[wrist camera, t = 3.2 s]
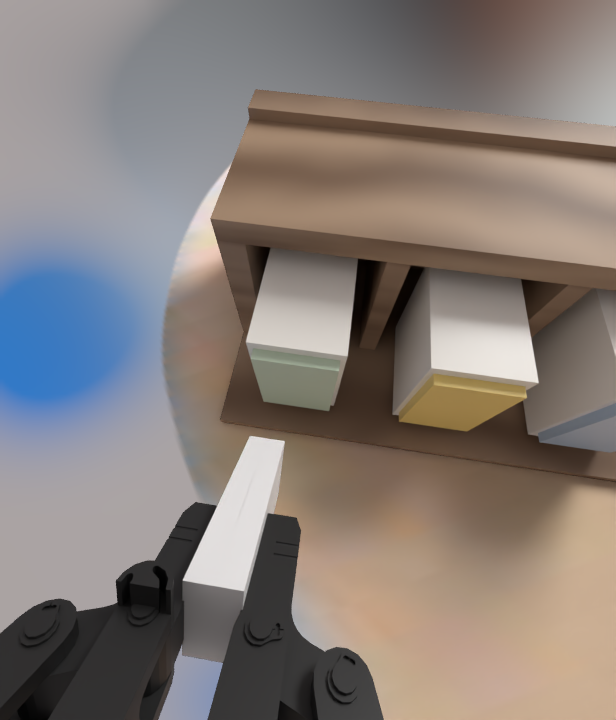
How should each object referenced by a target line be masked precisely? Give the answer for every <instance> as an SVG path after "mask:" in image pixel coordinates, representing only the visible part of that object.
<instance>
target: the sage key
mask: <svg viewBox="0 0 616 720" xmlns="http://www.w3.org/2000/svg"><path fill="white" fill-rule="evenodd" d="M357 264H358V258H351V257H343V256H335V255H327V254H319V253H311V252H303V251H295V250H287V249H279V248H270V252H269V256H268V260H267V263H266V267H265V271H264V275H263V279H262V282H261V286H260V290H259V294H258V297H257V301H256V305H255V309H254V313H253V316H252V320H251V324H250V328H249V332H248V335H247V339H246V345H247V348H248V351H249V355H250V358H251V362H252V365H253V369H254V372H255V375H256V378H257V382H258V385H259V388H260V392H261V395H262V398H263V401H264V402H270V403H277V404H284V405H290V406H297V407H304V408H311V409H318V410H324V411H329V409H330V405H331V406H334V403H335V400H336V396H337V393H338V389H339V386H340V382H341V378H342V375H343V371H344V368H345V364H346V360H347V357H348V348H349V339H350V330H351V320H352V311H353V301H354V292H355V282H356V273H357Z"/></svg>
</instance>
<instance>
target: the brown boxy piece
mask: <svg viewBox="0 0 616 720" xmlns="http://www.w3.org/2000/svg"><path fill="white" fill-rule="evenodd" d="M248 111H249V121H248V124H247V127H246V129H245V132H244V134H243V137H242V140H241V142H240V144H239V147H238V150H237V152H236V155H235V158H234V160H233V162H232V165H231V167H230V170H229V172H228V175H227V178H226V180H225V183H224V185H223V188H222V190H221V193H220V195H219V198H218V201H217V203H216V206H215V208H214V211H213V213H212V216H211V218H210V219H211V222H212V226H213V229H214V232H215V236H216V239H217V243H218V246H219V249H220V253H221V256H222V259H223V263H224V266H225V270H226V273H227V276H228V280H229V283H230V287H231V290H232V293H233V297H234V300H235V303H236V307H237V310H238V314H239V317H240V320H241V324H242V327H243V330H244V333H243V337H242V341H241V344H240V348H239V352H238V355H237V359H236V363H235V366H234V370H233V374H232V378H231V381H230V385H229V389H228V392H227V396H226V400H225V403H224V407H223V411H222V414H221V418H220V420H221V421H222V422H226V423H232V424H239V425H246V426H252V427H259V428H265V429H272V430H279V431H285V432H292V433H298V434H305V435H312V436H318V437H325V438H331V439H338V440H344V441H351V442H358V443H364V444H371V445H377V446H384V447H391V448H397V449H404V450H410V451H417V452H424V453H430V454H437V455H443V456H450V457H457V458H463V459H470V460H476V461H483V462H490V463H496V464H503V465H509V466H516V467H522V468H529V469H536V470H542V471H549V472H555V473H562V474H569V475H575V476H582V477H588V478H595V479H602V480H608V481H615V482H616V451H615V452H611V453H609V452H602V451H595V450H588V449H582V448H575V447H568V446H561V445H555V444H548V443H541V442H539V437H538V436H536V435H529V434H528V431H527V424H526V417H525V411H524V404H523V401H521V402H519V403H517V404H515V405H514V406H512V407H510V408H508V409H506V410H505V411H503V412H501V413H499V414H497V415H496V416H494V417H492V418H490V419H488V420H487V421H485V422H483V423H481V424H479V425H478V426H476V427H474V428H472V429H471V430H469V431H460V430H453V429H446V428H439V427H433V426H426V425H419V424H412V423H406V422H399V415H392V412H393V384H394V357H395V329H396V325H397V323H398V321H399V319H400V317H401V315H402V313H403V311H404V309H405V307H406V305H407V303H408V300H409V298H410V296H411V294H412V292H413V290H414V288H415V286H416V284H417V282H418V280H419V278H420V276H421V273H422V271H423V269H424V267H431V268H439V269H447V270H455V271H463V272H471V273H479V274H486V275H494V276H502V277H510V278H518V279H521V282H522V288H523V294H524V300H525V306H526V311H527V317H528V323H529V329H530V335H531V338H532V337H533V336H534V335H536V334H537V333H538V332H539V331H541V330H542V329H543V328H544V327H546V326H547V325H548V324H549V323H551V322H552V321H553V320H554V319H555V318H557V317H558V316H559V315H560V314H562V313H563V312H564V311H565V310H567V309H568V308H569V307H570V306H572V305H573V304H574V303H575V302H577V301H578V300H579V299H580V298H582V297H583V296H584V295H585V294H586V293H588V292H589V291H590V290H591V289H593V288H598V289H606V290H614V291H616V126H606V125H597V124H587V123H577V122H568V121H558V120H548V119H538V118H529V117H518V116H509V115H499V114H490V113H480V112H470V111H461V110H451V109H441V108H432V107H422V106H411V105H402V104H393V103H383V102H373V101H364V100H354V99H344V98H334V97H325V96H315V95H314V96H313V95H305V94H296V93H286V92H276V91H266V90H257V89H256V90H255V92H254V94H253V97H252V99H251V102H250V104H249V107H248ZM270 248H279V249H287V250H295V251H303V252H311V253H319V254H327V255H335V256H343V257H351V258H358V264H357V273H356V282H355V292H354V301H353V311H352V320H351V330H350V339H349V348H348V357H347V360H346V364H345V368H344V371H343V375H342V378H341V382H340V386H339V389H338V393H337V396H336V400H335V403H334V406H331V405H330V409H329V411H324V410H318V409H311V408H304V407H297V406H290V405H284V404H277V403H270V402H264V401H263V398H262V395H261V392H260V388H259V385H258V382H257V378H256V375H255V372H254V369H253V365H252V362H251V358H250V355H249V351H248V348H247V345H246V339H247V335H248V332H249V328H250V324H251V320H252V316H253V313H254V309H255V305H256V301H257V297H258V294H259V290H260V286H261V282H262V279H263V275H264V271H265V267H266V263H267V260H268V256H269V252H270Z"/></svg>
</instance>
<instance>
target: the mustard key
mask: <svg viewBox="0 0 616 720" xmlns="http://www.w3.org/2000/svg"><path fill="white" fill-rule="evenodd" d="M538 383H539V381H538V375H537V369H536V364H535V358H534V352H533V346H532V340H531V335H530V329H529V323H528V317H527V311H526V306H525V300H524V294H523V288H522V282H521V279H518V278H510V277H502V276H494V275H486V274H479V273H471V272H463V271H455V270H447V269H439V268H431V267H424V269H423V271H422V273H421V276H420V278H419V280H418V282H417V284H416V286H415V288H414V290H413V292H412V294H411V296H410V298H409V300H408V303H407V305H406V307H405V309H404V311H403V313H402V315H401V317H400V319H399V321H398V323H397V325H396V329H395V357H394V384H393V412H392V415H399V422H406V423H412V424H419V425H426V426H433V427H439V428H446V429H453V430H460V431H469V430H471V429H472V428H474V427H476V426H478V425H479V424H481V423H483V422H485V421H487V420H488V419H490V418H492V417H494V416H496V415H497V414H499V413H501V412H503V411H505V410H506V409H508V408H510V407H512V406H514V405H515V404H517V403H519V402H521V401H523V400H524V399H526V398H527V395H526V390H528V389H530V388H531V387H533V386H535V385H536V384H538Z"/></svg>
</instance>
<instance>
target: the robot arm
mask: <svg viewBox="0 0 616 720" xmlns="http://www.w3.org/2000/svg"><path fill="white" fill-rule="evenodd" d="M284 444H285V441H281V440H274V439H268V438H261V437H255V436H250V437H249V439H248V441H247V443H246V446H245V448H244V450H243V452H242V454H241V456H240V458H239V461H238V463H237V465H236V467H235V469H234V471H233V473H232V476H231V478H230V480H229V482H228V484H227V486H226V488H225V491H224V493H223V495H222V497H221V499H220V501H219V503H218V506H216V505H210V504H203V503H197V502H195V503H194V504H193V505H192V506H190V507H189V508H188V509H187V510H185V512H183V514H182V515H181V517H180V519H179V520H178V522H177V524H176V526H175V528H174V529H173V531H172V532H171V534H170V536H169V539H167V541H166V543H165V545H164V546H163V548H162V549H161V551H160V553H159V555H158V556H157V558H156V560H155V561H144V562H141V563H138V564H135V565H134V566H132V567H130V568H129V569H127V570H126V571H125V572H123V573H122V575H121V576H120V577H119V578H118V579H117V580H116V588H117V601H118V603H116V604H114V605H110V606H107V607H102V608H96V609H90V610H84V611H78V612H76V607H75V606H74V605H73V604H72V603H71V602H70V601H67V600H64V599H54V600H48V601H45V602H43V603H41V604H38V605H36V606H34V607H32V608H31V609H29V610H28V611H27V612H25V613H24V614H22V615H21V616H20V617H19V618H17V619H16V620H15V621H14V622H13V623H12V624H11V625H9V626H8V627H7V628H6V629H5V630H4V631H3V632H2V633H0V720H158V719H159V716H160V713H161V711H162V708H163V705H164V702H165V700H166V697H167V695H168V692H169V689H170V687H171V684H172V679H173V675H174V663H175V661H176V658H177V656H178V653H179V651H180V648H181V645H182V655H183V656H188V657H194V658H199V659H205V660H210V661H216V662H221V663H223V666H222V669H221V673H220V677H219V680H218V684H217V688H216V691H215V695H214V698H213V702H212V705H211V709H210V713H209V717H208V720H384V719H383V715H382V712H381V708H380V704H379V701H378V697H377V693H376V690H375V686H374V682H373V679H372V676H371V674H370V672H369V669H368V667H367V665H366V664H365V663H364V661H363V660H362V659H361V658H360V657H359V655H357V654H356V653H354V652H352V651H351V650H349V649H347V648H339V647H335V648H332V649H330V650H327V651H326V652H324V651H323V650H321V649H319V648H318V647H316V646H314V645H313V644H311V643H310V642H308V641H307V640H306V639H305V638H303V637H302V635H301V634H300V633H299V632H298V630H297V629H296V627H295V624H294V622H293V618H292V614H291V605H292V597H293V589H294V582H295V574H296V566H297V558H298V550H299V542H300V534H301V530H300V527H299V524H298V521H297V518H295V517H289V516H282V515H276V514H274V510H275V506H276V502H277V498H278V494H279V485H280V477H281V469H282V460H283V452H284Z"/></svg>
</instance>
